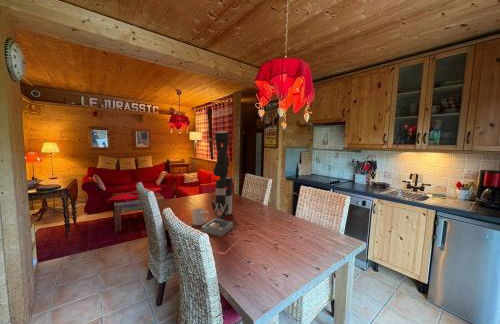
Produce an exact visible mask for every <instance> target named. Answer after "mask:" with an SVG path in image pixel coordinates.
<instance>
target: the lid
mask: <svg viewBox="0 0 500 324" xmlns="http://www.w3.org/2000/svg"><path fill="white" fill-rule="evenodd" d="M218 225H220V224H218V223H212V224H210V225H209V226H212V227H217V226H218Z"/></svg>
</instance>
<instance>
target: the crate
mask: <svg viewBox="0 0 500 324" xmlns="http://www.w3.org/2000/svg"><path fill="white" fill-rule="evenodd" d="M212 223H218V224H220V225H219V230H218V229H214V228H209V225H210V224H212ZM233 228H234V221H230V220H225V219H217V218H214V219H212V220H211V221H209V222H207V223H204V224H202V226H201V233H203V232H204V234H209V235H212V236H213V235H214V236H216V237H222V236H224V235H225V234H227V233H228V232H230V230H232V229H233Z"/></svg>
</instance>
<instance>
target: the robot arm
mask: <svg viewBox="0 0 500 324" xmlns="http://www.w3.org/2000/svg"><path fill="white" fill-rule="evenodd" d="M214 138H215V145H216V146H215V147H216V151H217V155H216V163H215V166H214V169H213V170H212V171H213V175H214V176H215V177H219V179H216V181H215V192H214V193H215V195H214V198H215V200H213V201H211V206H212V210H214V211H215V212H214V213H215V214H214V215H215V216H216V217H217V208H218V207H220V208H221V209H222V211H223V217H224V218H225V217H226V216H229V215H232V213H233V212H232V211H233V177H230V176H228V173H229V165H230V157H229V155H228V149H229V143H230V133H229V132H228V131H216V132H215V134H214ZM222 144H223V146H222ZM226 188H227V189H226Z"/></svg>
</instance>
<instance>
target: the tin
mask: <svg viewBox="0 0 500 324" xmlns="http://www.w3.org/2000/svg"><path fill="white" fill-rule="evenodd" d="M216 219H220V220H225V217H223V211H222V209H221V208H220V207H218V208H217V216H216Z"/></svg>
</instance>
